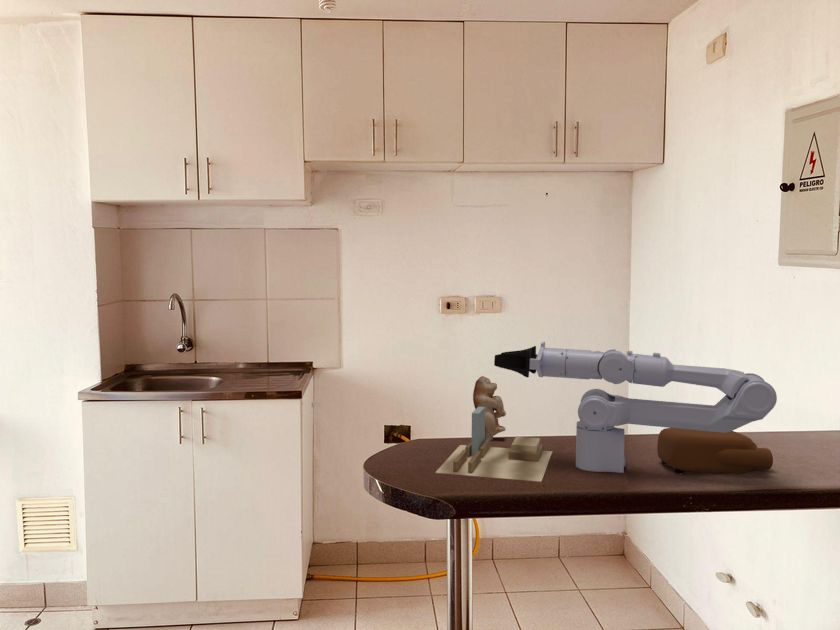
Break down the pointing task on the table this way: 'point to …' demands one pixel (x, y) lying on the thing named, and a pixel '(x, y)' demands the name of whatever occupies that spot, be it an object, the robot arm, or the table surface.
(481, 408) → the grey blue slab
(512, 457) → the plate
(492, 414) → the figurine
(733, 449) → the toy
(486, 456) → the rack
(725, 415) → the robot arm
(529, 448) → the offcut top
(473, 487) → the table surface
